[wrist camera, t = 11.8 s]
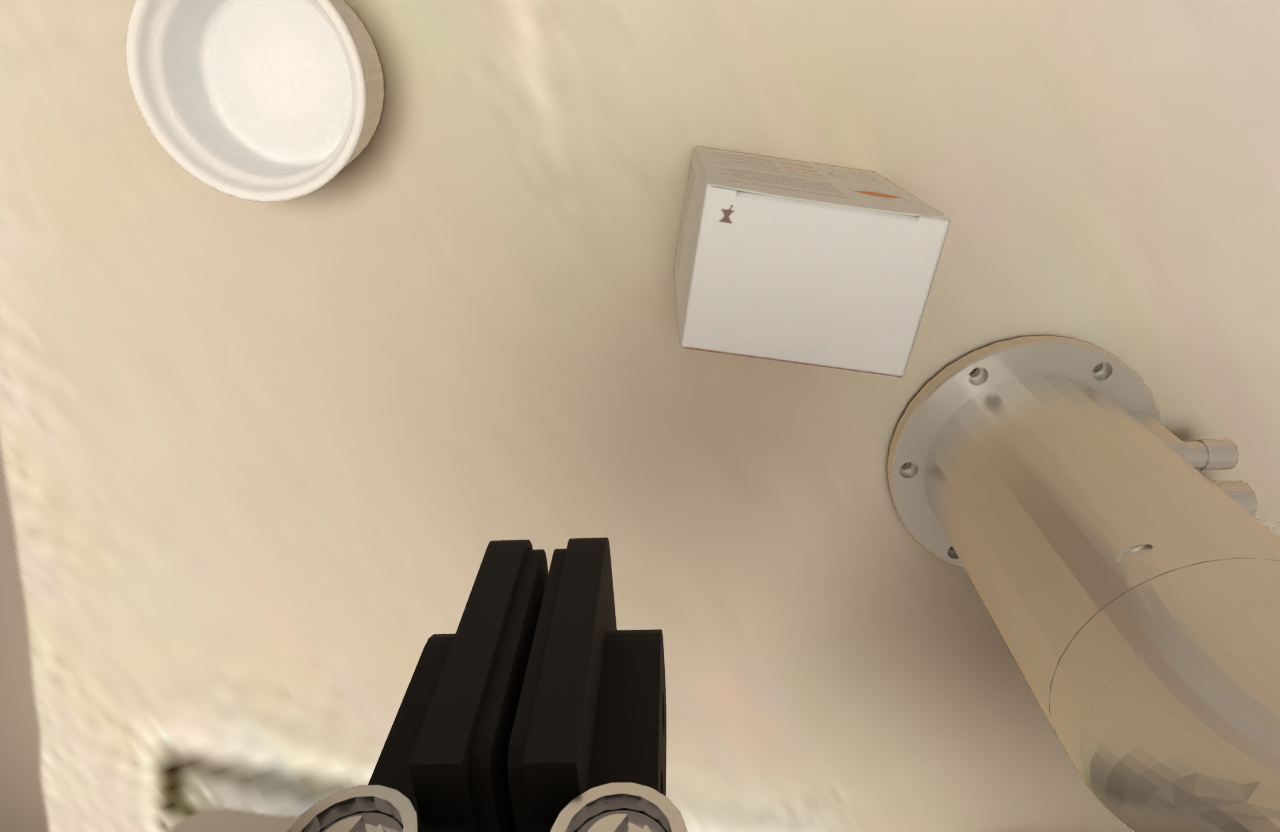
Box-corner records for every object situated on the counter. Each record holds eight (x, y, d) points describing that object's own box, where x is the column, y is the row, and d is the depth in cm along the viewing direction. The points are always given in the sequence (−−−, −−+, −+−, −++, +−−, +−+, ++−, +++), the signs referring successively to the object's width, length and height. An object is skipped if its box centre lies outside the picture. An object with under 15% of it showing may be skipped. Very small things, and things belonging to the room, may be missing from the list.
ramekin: (203, -82, 32) (137, -100, 28) (422, 8, 33) (388, 4, 29) (173, 140, 36) (111, 152, 32) (372, 215, 37) (336, 236, 33)
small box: (672, 269, 37) (672, 350, 28) (693, 141, 35) (700, 180, 25) (846, 295, 37) (906, 384, 28) (878, 169, 35) (955, 219, 25)
